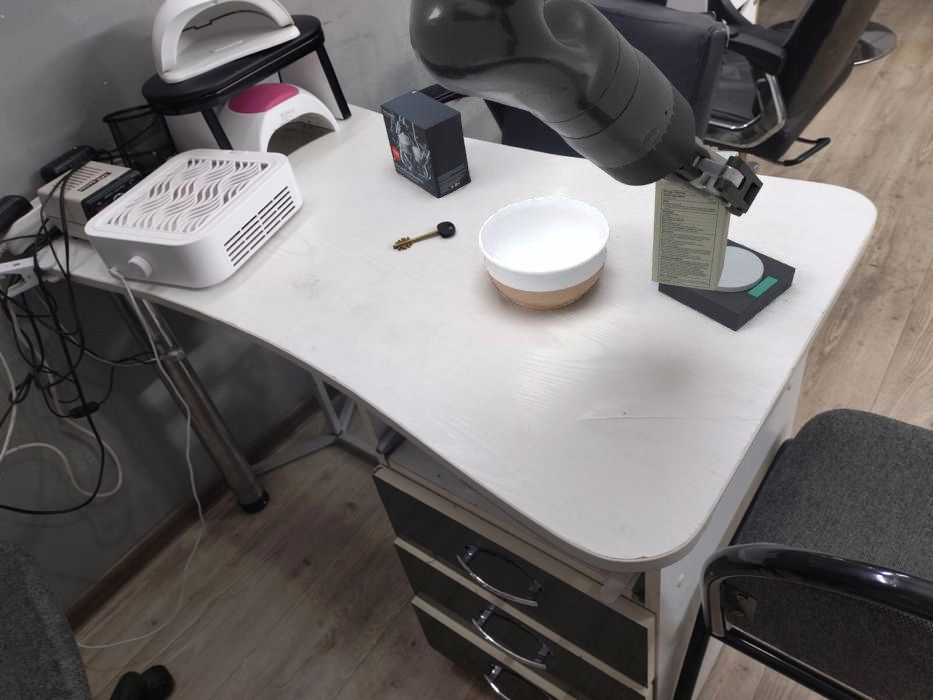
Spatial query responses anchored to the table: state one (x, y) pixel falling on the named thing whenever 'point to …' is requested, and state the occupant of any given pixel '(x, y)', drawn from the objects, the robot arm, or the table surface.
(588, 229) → the bowl
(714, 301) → the scale
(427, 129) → the small box
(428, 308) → the table surface
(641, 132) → the robot arm
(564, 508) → the table surface
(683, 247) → the cosmetic box
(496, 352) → the table surface
